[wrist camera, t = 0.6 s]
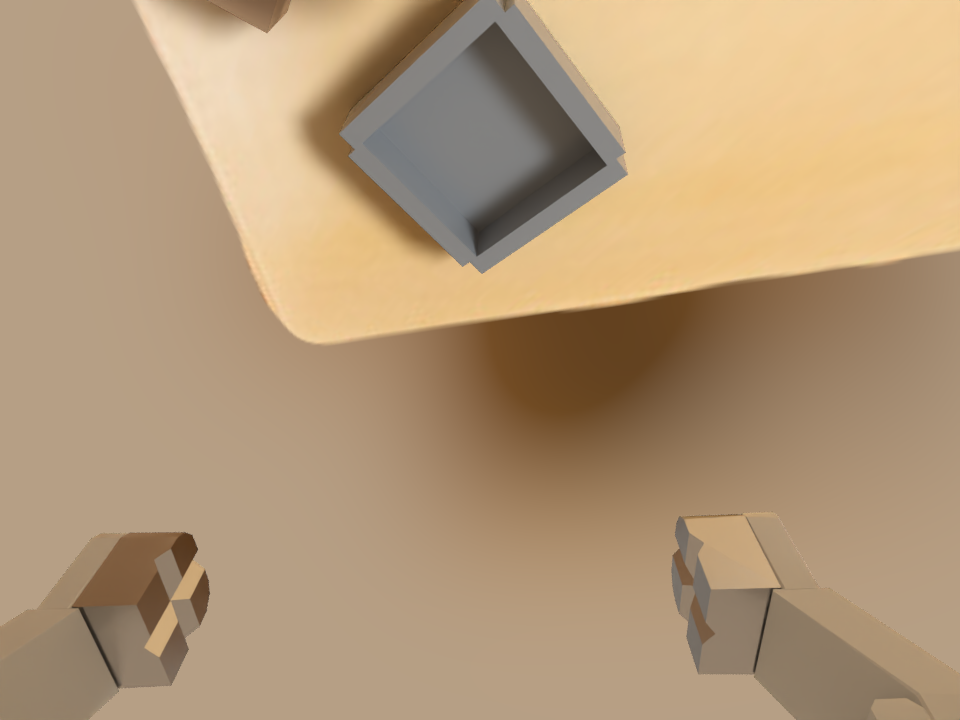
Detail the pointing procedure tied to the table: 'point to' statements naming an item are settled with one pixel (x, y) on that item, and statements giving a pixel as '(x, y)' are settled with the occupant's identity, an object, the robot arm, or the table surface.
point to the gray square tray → (486, 133)
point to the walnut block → (256, 11)
